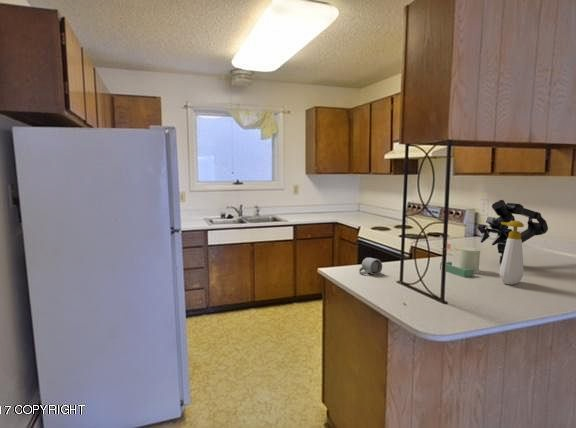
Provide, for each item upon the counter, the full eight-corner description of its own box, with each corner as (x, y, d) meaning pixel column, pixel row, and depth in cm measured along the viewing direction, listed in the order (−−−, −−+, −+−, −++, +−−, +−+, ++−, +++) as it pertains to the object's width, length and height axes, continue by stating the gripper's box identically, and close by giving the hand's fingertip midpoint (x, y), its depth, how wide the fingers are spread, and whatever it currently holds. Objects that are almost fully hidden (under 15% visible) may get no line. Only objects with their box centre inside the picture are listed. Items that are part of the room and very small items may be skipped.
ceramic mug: (371, 269, 183) (372, 255, 182) (382, 273, 176) (382, 258, 175) (355, 272, 179) (355, 257, 178) (365, 276, 171) (365, 261, 170)
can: (478, 274, 176) (480, 250, 175) (457, 271, 181) (459, 248, 180) (479, 270, 184) (481, 247, 183) (459, 267, 189) (461, 245, 188)
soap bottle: (503, 277, 171) (509, 218, 168) (527, 283, 163) (533, 220, 159) (489, 281, 165) (494, 219, 161) (513, 288, 156) (518, 222, 152)
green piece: (449, 268, 187) (451, 241, 186) (473, 275, 174) (475, 246, 172) (439, 269, 185) (441, 242, 183) (463, 277, 171) (465, 247, 170)
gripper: (480, 209, 194) (464, 230, 191) (513, 213, 177) (496, 236, 174) (489, 223, 198) (474, 243, 195) (522, 228, 181) (506, 251, 178)
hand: (486, 243), depth 185 cm, fingers open, 6 cm apart
